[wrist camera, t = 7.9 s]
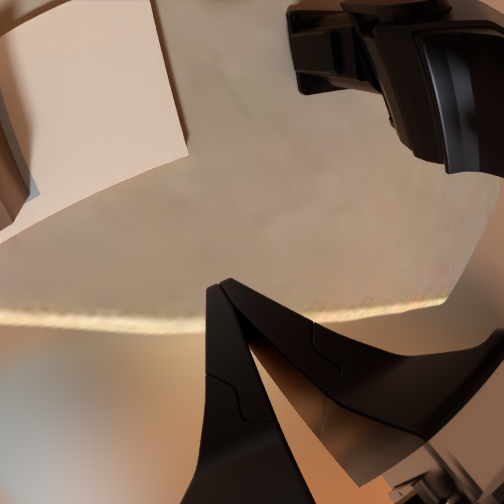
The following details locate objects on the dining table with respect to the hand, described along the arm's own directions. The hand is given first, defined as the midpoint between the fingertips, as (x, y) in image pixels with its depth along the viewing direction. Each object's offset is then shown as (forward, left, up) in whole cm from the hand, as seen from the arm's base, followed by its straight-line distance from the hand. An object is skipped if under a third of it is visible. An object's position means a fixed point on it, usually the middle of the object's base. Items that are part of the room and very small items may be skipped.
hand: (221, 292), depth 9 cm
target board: (+7, -7, -12) cm, 16 cm away
